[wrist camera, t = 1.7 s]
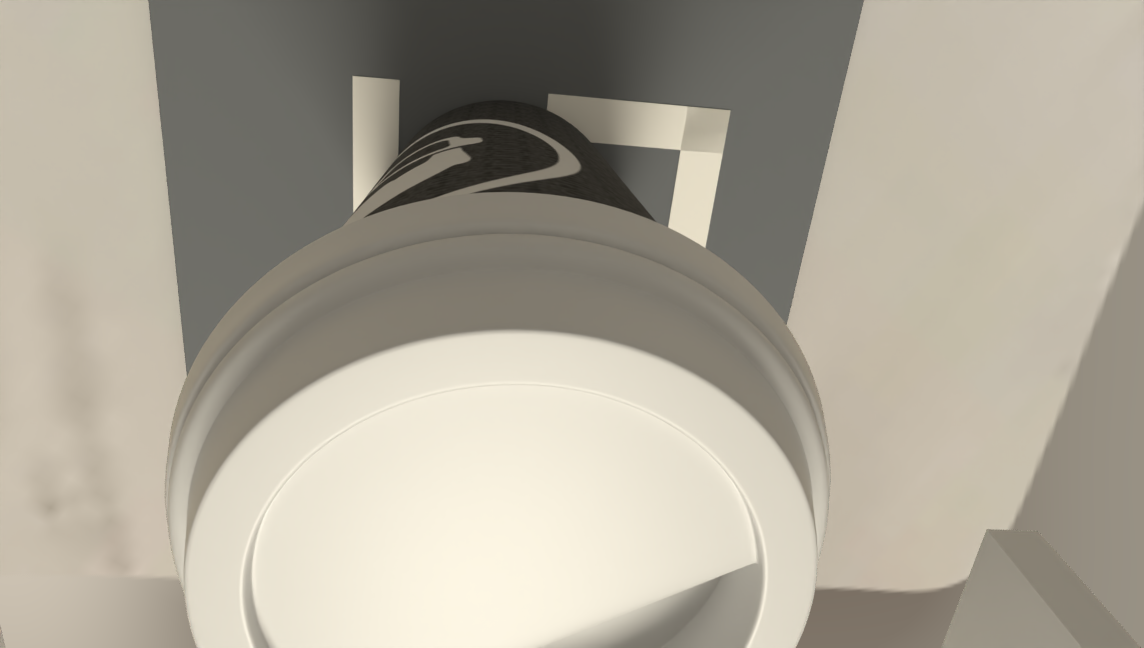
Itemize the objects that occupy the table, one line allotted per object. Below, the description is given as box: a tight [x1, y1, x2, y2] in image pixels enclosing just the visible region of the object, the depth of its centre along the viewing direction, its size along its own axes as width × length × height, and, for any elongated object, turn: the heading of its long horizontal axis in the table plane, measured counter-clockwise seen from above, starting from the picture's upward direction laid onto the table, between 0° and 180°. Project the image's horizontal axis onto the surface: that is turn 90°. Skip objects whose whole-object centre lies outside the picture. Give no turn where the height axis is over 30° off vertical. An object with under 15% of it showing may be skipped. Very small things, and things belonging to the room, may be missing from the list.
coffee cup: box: [165, 100, 831, 648], centre depth 18 cm, size 10×10×15 cm
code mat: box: [148, 0, 864, 375], centre depth 24 cm, size 18×18×1 cm
